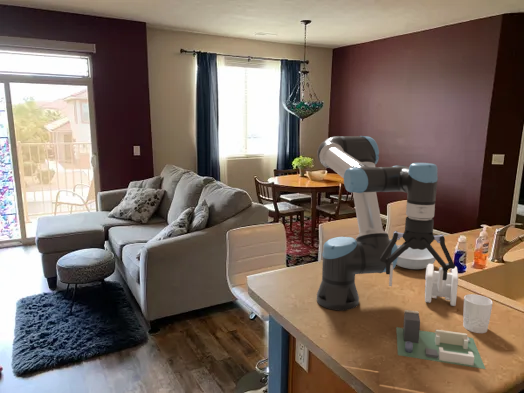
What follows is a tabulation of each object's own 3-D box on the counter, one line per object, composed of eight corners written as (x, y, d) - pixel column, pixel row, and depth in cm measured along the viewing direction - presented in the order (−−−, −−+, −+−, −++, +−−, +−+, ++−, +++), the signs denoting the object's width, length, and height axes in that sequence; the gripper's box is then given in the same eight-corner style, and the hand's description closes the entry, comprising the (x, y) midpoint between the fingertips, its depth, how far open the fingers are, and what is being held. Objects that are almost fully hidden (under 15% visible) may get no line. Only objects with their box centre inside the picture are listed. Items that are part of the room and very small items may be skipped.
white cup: (464, 320, 131) (467, 291, 129) (491, 327, 126) (494, 298, 124) (458, 329, 125) (461, 300, 123) (486, 338, 120) (490, 307, 118)
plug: (404, 341, 118) (405, 318, 116) (403, 331, 123) (404, 309, 122) (418, 343, 116) (420, 320, 115) (416, 333, 122) (418, 311, 121)
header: (439, 360, 108) (440, 348, 108) (434, 340, 118) (435, 329, 118) (473, 365, 106) (474, 353, 105) (465, 344, 116) (466, 333, 115)
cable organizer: (455, 310, 138) (458, 279, 136) (423, 305, 142) (425, 274, 140) (454, 293, 151) (457, 265, 149) (424, 289, 155) (427, 261, 153)
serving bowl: (387, 256, 194) (387, 242, 192) (433, 260, 187) (434, 246, 186) (386, 271, 174) (387, 256, 173) (437, 276, 168) (439, 261, 167)
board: (397, 356, 111) (398, 347, 110) (396, 328, 126) (396, 320, 125) (485, 370, 104) (486, 360, 104) (472, 339, 119) (473, 330, 119)
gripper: (374, 217, 113) (370, 287, 117) (470, 223, 106) (463, 297, 110) (374, 211, 120) (371, 277, 124) (465, 217, 113) (458, 287, 117)
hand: (414, 287), depth 117 cm, fingers open, 13 cm apart
